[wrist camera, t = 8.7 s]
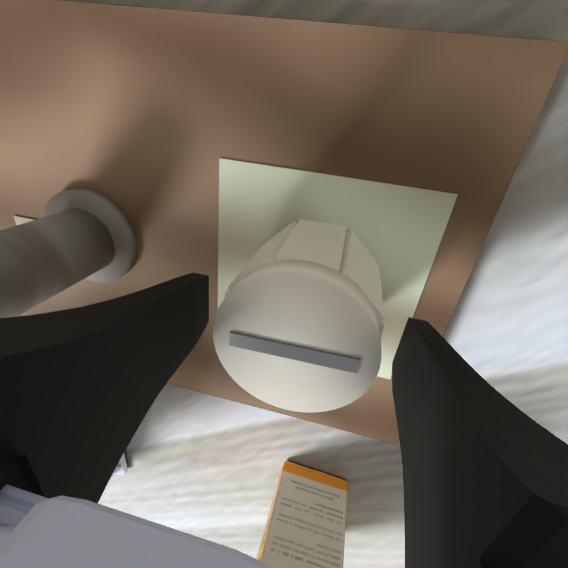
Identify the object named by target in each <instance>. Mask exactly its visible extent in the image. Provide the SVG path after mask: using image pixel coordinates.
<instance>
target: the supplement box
mask: <svg viewBox="0 0 568 568" xmlns="http://www.w3.org/2000/svg"><path fill="white" fill-rule="evenodd" d="M346 504H347V481H345V480H343V479H340V478H337V477H335V476H331V475H329V474H326V473H323V472H320V471H317V470H314V469H310V468H307V467H304V466H301V465H298V464H295V463H292V462H289V461H286V462H285V463H284V465H283V468H282V471H281V475H280V479H279V482H278V486H277V489H276V493H275V496H274V500H273V503H272V507H271V510H270V513H269V516H268V519H267V523H266V526H265V530H264V533H263V537H262V540H261V544H260V547H259V551H258V555H257V558H256V559H257V560H259V561H261V562H263V563H265V564H267V565H269V566H270V567H271V568H343V558H344V541H345V522H346Z"/></svg>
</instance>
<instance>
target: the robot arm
mask: <svg viewBox="0 0 568 568" xmlns="http://www.w3.org/2000/svg"><path fill="white" fill-rule="evenodd" d="M208 322H209V276H208V275H203V274H198V273H190V274H186V275H183V276H180V277H177V278H174V279H171V280H168V281H166V282H163V283H160V284H157V285H154V286H152V287H149V288H146V289H143V290H140V291H137V292H134V293H131V294H127V295H124V296H121V297H118V298H114V299H111V300H107V301H103V302H99V303H95V304H91V305H87V306H82V307H77V308H71V309H66V310H60V311H54V312H48V313H42V314H34V315H26V316H17V317H7V318H0V568H271V567H270V566H269V565H267V564H265V563H263V562H261V561H259V560H257V559H255V558H252V557H250V556H248V555H246V554H244V553H242V552H240V551H238V550H235V549H232V548H229V547H226V546H223V545H220V544H217V543H214V542H211V541H208V540H205V539H202V538H199V537H196V536H193V535H190V534H187V533H184V532H181V531H178V530H175V529H172V528H169V527H166V526H163V525H160V524H157V523H154V522H151V521H148V520H145V519H142V518H139V517H136V516H133V515H130V514H127V513H124V512H121V511H118V510H115V509H112V508H109V507H106V506H103V505H100V504H97V503H98V501H99V499H100V497H101V495H102V493H103V491H104V489H105V487H106V485H107V483H108V482H109V480H110V479H111V477H112V476H113V475H114V473H115V474H118V475H122V476H123V475H125V474H126V473H127V471H128V469H127V464H126V460H125V455H124V451H125V450H126V448H127V446H128V444H129V443H130V441H131V439H132V437H133V436H134V434H135V432H136V430H137V429H138V427H139V425H140V423H141V422H142V420H143V418H144V417H145V415H146V413H147V412H148V410H149V408H150V407H151V405H152V404H153V402H154V400H155V399H156V397H157V396H158V394H159V393H160V391H161V390H162V389H163V387H164V386H165V385H166V383H167V382H168V381H169V379H170V378H171V377H172V375H173V374H174V373H175V371H176V370H177V369H178V368H179V366H180V365H181V364H182V362H183V361H184V360H185V358H186V357H187V356H188V354H189V353H190V352H191V350H192V349H193V348H194V346H195V345H196V344H197V342H198V340H199V339H200V337H201V335H202V333H203V332H204V330H205V328H206V326H207V324H208ZM392 392H393V399H394V406H395V413H396V420H397V426H398V433H399V440H400V446H401V454H402V463H403V483H404V513H405V568H568V445H567V444H566V443H564V442H563V441H562V440H560V439H559V438H557V437H556V436H555V435H553V434H552V433H550V432H549V431H548V430H546V429H545V428H543V427H542V426H541V425H539V424H538V423H536V422H535V421H534V420H532V419H531V418H530V417H528V416H527V415H526V414H524V413H523V412H522V411H521V410H519V409H518V408H517V407H516V406H514V405H513V404H512V403H511V402H510V401H508V400H507V399H506V398H505V397H503V396H502V395H501V394H500V393H499V392H498V391H496V390H495V389H494V388H493V387H492V386H491V385H490V384H489V383H488V382H486V381H485V380H484V379H483V378H482V377H481V376H480V375H479V374H478V373H477V372H476V371H475V370H474V369H473V368H472V367H471V366H470V365H469V364H468V363H467V362H466V361H465V360H464V359H463V358H462V357H461V356H460V355H459V354H458V353H457V352H456V351H455V350H454V349H453V348H452V347H451V345H450V344H449V343H448V342H447V341H446V340H445V339H444V338H443V337H442V336H441V335H440V334H439V332H438V331H437V330H436V329H435V328H434V327H433V326H432V325H431V324H430V323H429V322H428V321H424V320H420V319H415V318H410V317H408V320H407V323H406V326H405V328H404V331H403V334H402V337H401V340H400V342H399V345H398V348H397V351H396V354H395V356H394V359H393V362H392Z"/></svg>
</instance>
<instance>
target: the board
mask: <svg viewBox="0 0 568 568" xmlns="http://www.w3.org/2000/svg"><path fill="white" fill-rule="evenodd" d="M567 51H568V42H561V41H549V40H537V39H524V38H512V37H500V36H488V35H476V34H463V33H451V32H439V31H427V30H414V29H402V28H390V27H378V26H366V25H353V24H341V23H329V22H317V21H305V20H292V19H280V18H268V17H256V16H244V15H231V14H219V13H207V12H195V11H183V10H170V9H158V8H146V7H134V6H121V5H109V4H97V3H85V2H73V1H60V0H0V318H7V317H17V316H26V315H34V314H42V313H48V312H54V311H60V310H66V309H71V308H77V307H82V306H87V305H91V304H95V303H99V302H103V301H107V300H111V299H114V298H118V297H121V296H124V295H127V294H131V293H134V292H137V291H140V290H143V289H146V288H149V287H152V286H154V285H157V284H160V283H163V282H166V281H168V280H171V279H174V278H177V277H180V276H183V275H186V274H190V273H198V274H203V275H208V276H209V322H208V324H207V326H206V328H205V330H204V332H203V333H202V335H201V337H200V339H199V340H198V342H197V344H196V345H195V346H194V348H193V349H192V350H191V352H190V353H189V354H188V356H187V357H186V358H185V360H184V361H183V362H182V364H181V365H180V366H179V368H178V369H177V370H176V371H175V373H174V374H173V375H172V377H171V378H170V379H169V381H168V382H167V383H168V384H172V385H176V386H179V387H183V388H187V389H191V390H194V391H198V392H202V393H206V394H209V395H213V396H217V397H221V398H224V399H228V400H232V401H236V402H239V403H243V404H247V405H251V406H254V407H258V408H262V409H266V410H269V411H273V412H277V413H281V414H284V415H288V416H292V417H296V418H299V419H303V420H307V421H311V422H314V423H318V424H322V425H326V426H329V427H333V428H337V429H341V430H344V431H348V432H352V433H356V434H359V435H363V436H367V437H371V438H374V439H378V440H382V441H386V442H389V443H393V444H396V442H397V440H398V438H399V433H398V426H397V420H396V413H395V406H394V399H393V392H392V362H393V359H394V356H395V354H396V351H397V348H398V345H399V342H400V340H401V337H402V334H403V331H404V328H405V326H406V323H407V320H408V317H410V318H415V319H420V320H424V321H428V322H429V323H430V324H431V325H432V326H433V327H434V328H435V329H436V330H437V331H438V332H439V334H440V335H441V336H442V337H443V335H444V332H445V330H446V328H447V326H448V323H449V321H450V319H451V316H452V314H453V312H454V310H455V307H456V305H457V303H458V300H459V298H460V296H461V293H462V291H463V289H464V287H465V284H466V282H467V280H468V277H469V275H470V273H471V271H472V268H473V266H474V264H475V261H476V259H477V257H478V255H479V252H480V250H481V248H482V245H483V243H484V241H485V239H486V236H487V234H488V232H489V229H490V227H491V225H492V222H493V220H494V218H495V216H496V213H497V211H498V209H499V206H500V204H501V202H502V200H503V197H504V195H505V193H506V190H507V188H508V186H509V184H510V181H511V179H512V177H513V174H514V172H515V170H516V167H517V165H518V163H519V161H520V158H521V156H522V154H523V151H524V149H525V147H526V145H527V142H528V140H529V138H530V135H531V133H532V131H533V129H534V126H535V124H536V122H537V119H538V117H539V115H540V113H541V110H542V108H543V106H544V103H545V101H546V99H547V96H548V94H549V92H550V90H551V87H552V85H553V83H554V80H555V78H556V76H557V74H558V71H559V69H560V67H561V64H562V62H563V60H564V58H565V55H566V53H567ZM300 219H304V220H310V221H317V222H324V223H331V224H337V225H344V226H347V229H346V233H347V232H348V231H350V230H351V229H353V231H354V232H355V234H356V235H357V236H358V238H359V239H360V240H361V242H362V243H363V244H364V246H365V247H366V248H367V250H368V251H369V252H370V254H371V255H372V257H373V258H374V259H375V261H376V262H377V263H378V265H379V270H380V276H381V286H382V297H383V307H384V317H385V326H384V330H383V333H382V337H381V349H382V355H381V364H380V369H379V372H378V374H377V377H376V379H375V380H374V382H373V384H372V385H371V387H370V388H369V389H368V390H367V391H366V392H365V393H364V394H363V395H362V396H361V397H359V398H358V399H357V400H355V401H353V402H352V403H350V404H348V405H346V406H343V407H341V408H338V409H335V410H330V411H325V412H315V413H305V412H295V411H290V410H285V409H282V408H278V407H275V406H273V405H270V404H267V403H265V402H263V401H261V400H259V399H257V398H256V397H254V396H253V395H251V394H249V393H248V392H247V391H245V390H244V389H243V388H242V387H240V386H239V385H238V384H237V383H236V382H235V381H234V380H233V379H232V377H231V376H230V375H229V374H228V373H227V371H226V370H225V368H224V367H223V365H222V363H221V362H220V360H219V357H218V355H217V352H216V349H215V345H214V340H213V324H214V319H215V315H216V313H217V310H218V308H219V306H220V305H221V303H222V301H223V300H224V299H225V292H226V291H227V289H228V288H227V287H228V286H229V285H230V284H231V283H232V281H233V280H234V279H235V278H236V276H237V275H238V274H239V273H240V272H241V270H242V269H243V268H244V267H245V266H246V264H247V263H248V262H249V261H250V259H251V258H252V257H253V256H254V255H255V253H256V252H257V251H258V250H259V248H260V247H261V246H262V245H263V244H265V243H266V242H267V241H269V240H270V239H271V238H273V237H274V236H275V235H276V234H278V233H279V232H280V231H282V230H283V229H284V228H286V227H287V226H288V225H289V224H291V223H292V222H293V221H296V222H297V223H298V222H299V220H300Z"/></svg>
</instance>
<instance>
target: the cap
mask: <svg viewBox="0 0 568 568" xmlns="http://www.w3.org/2000/svg"><path fill="white" fill-rule="evenodd" d="M346 229H347V226H344V225H337V224H331V223H324V222H317V221H310V220H304V219H300V220H299V222H298V223H297V222H296V221H293V222H292V223H291V224H289V225H288V226H287V227H286V228H284V229H283V230H282V231H280V232H279V233H278V234H276V235H275V236H274V237H273V238H271V239H270V240H269V241H267V242H266V243H265V244H263V245H262V246H261V247H260V248H259V250H258V251H257V252H256V253H255V255H254V256H253V257H252V258H251V259H250V261H249V262H248V263H247V264H246V266H245V267H244V268H243V269H242V270H241V272H240V273H239V274H238V275H237V276H236V278H235V279H234V280H233V281H232V283H231V284H230V285H229V286H228V287H227V288H228V289H227V291H226V292H225V299H224V300H223V301H222V303H221V305H220V306H219V308H218V310H217V313H216V315H215V319H214V324H213V340H214V345H215V349H216V352H217V355H218V357H219V360H220V362H221V363H222V365H223V367H224V368H225V370H226V371H227V373H228V374H229V375H230V376H231V377H232V379H233V380H234V381H235V382H236V383H237V384H238V385H239V386H240V387H242V388H243V389H244V390H245V391H247V392H248V393H249V394H251V395H253V396H254V397H256V398H257V399H259V400H261V401H263V402H265V403H267V404H270V405H273V406H275V407H278V408H282V409H285V410H290V411H295V412H305V413H315V412H325V411H330V410H335V409H338V408H341V407H343V406H346V405H348V404H350V403H352V402H353V401H355V400H357V399H358V398H359V397H361V396H362V395H363V394H364V393H365V392H366V391H367V390H368V389H369V388H370V387H371V385H372V384H373V382H374V380H375V379H376V377H377V374H378V372H379V369H380V364H381V355H382V349H381V337H382V333H383V330H384V326H385V317H384V307H383V297H382V286H381V276H380V270H379V265H378V263H377V262H376V261H375V259H374V258H373V257H372V255H371V254H370V252H369V251H368V250H367V248H366V247H365V246H364V244H363V243H362V242H361V240H360V239H359V238H358V236H357V235H356V234H355V232H354V231H353V229H351V230H350V231H348V232H347V233H346Z"/></svg>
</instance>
